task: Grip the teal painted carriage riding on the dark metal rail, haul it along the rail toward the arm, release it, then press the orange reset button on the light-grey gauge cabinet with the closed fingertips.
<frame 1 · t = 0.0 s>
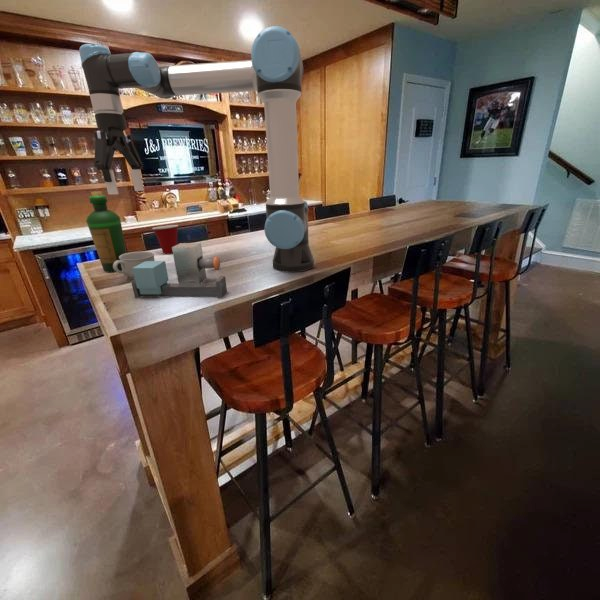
hand: (127, 192, 99), 28 cm above the table, fingers open, 13 cm apart
button: (209, 263, 102), point 6 cm above the table, slide at 0.0 cm
rail: (181, 294, 94), on the table
cabinet: (194, 281, 105), on the table
bottle: (117, 270, 121), on the table
plastic cup: (170, 253, 143), on the table
teacup: (137, 278, 110), on the table
carriage: (152, 277, 93), point 5 cm above the table, slide at 0.0 cm
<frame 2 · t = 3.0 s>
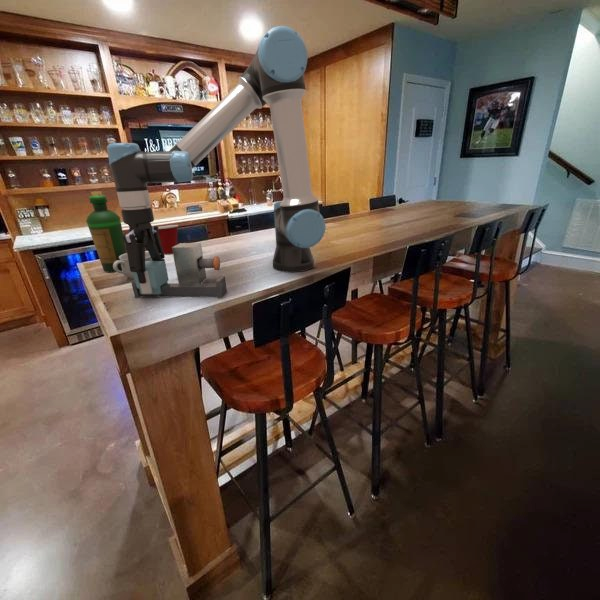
hand: (154, 288, 94), 2 cm above the table, fingers closed on carriage, 7 cm apart
carriage: (152, 277, 93), point 5 cm above the table, slide at 0.0 cm, touching gripper
everything else where it was.
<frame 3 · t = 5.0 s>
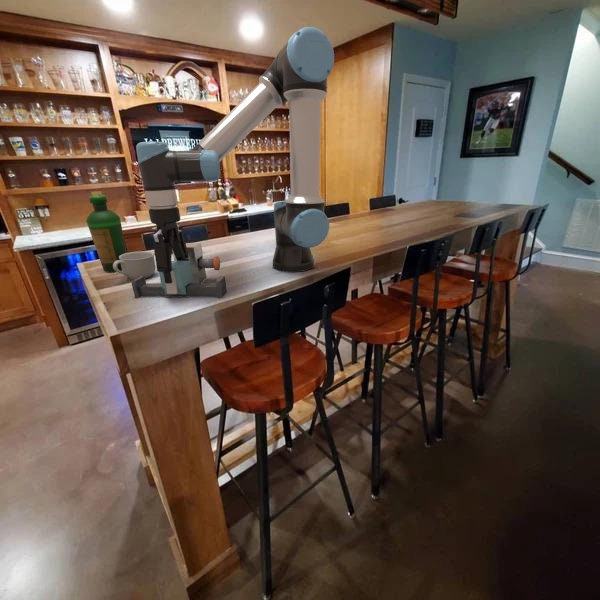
hand: (178, 288, 93), 2 cm above the table, fingers closed on carriage, 7 cm apart
carriage: (176, 277, 92), point 5 cm above the table, slide at 7.5 cm, touching gripper
everything else where it was.
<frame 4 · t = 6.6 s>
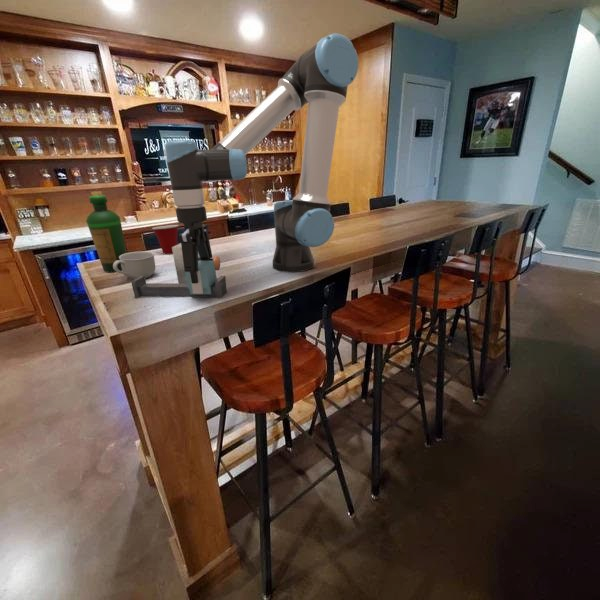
hand: (203, 288, 92), 2 cm above the table, fingers closed on carriage, 7 cm apart
carriage: (201, 277, 91), point 5 cm above the table, slide at 15.0 cm, touching gripper
everything else where it was.
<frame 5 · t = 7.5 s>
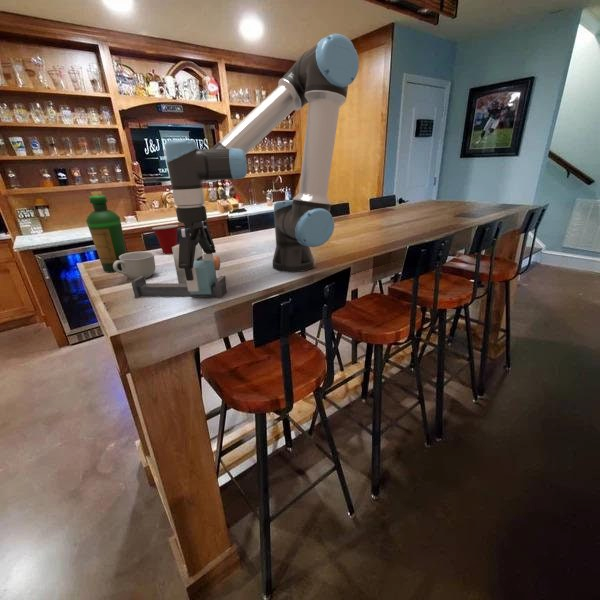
hand: (203, 282, 92), 4 cm above the table, fingers open, 13 cm apart
carriage: (201, 277, 91), point 5 cm above the table, slide at 15.0 cm
everything else where it was.
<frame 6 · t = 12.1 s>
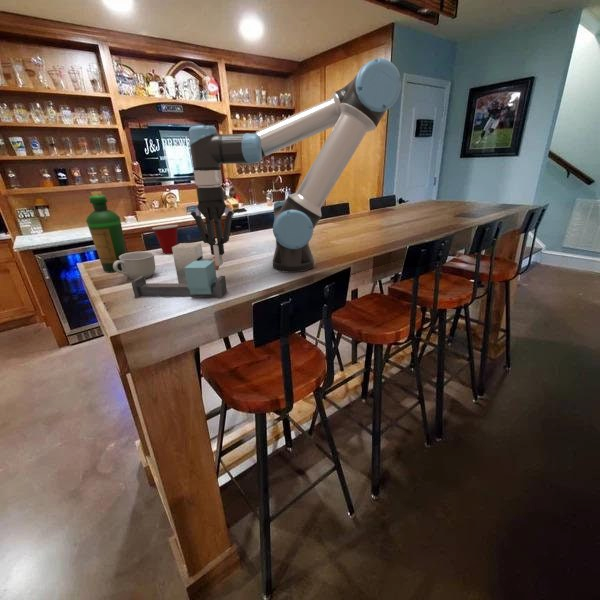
hand: (219, 264, 102), 6 cm above the table, fingers closed
button: (208, 263, 102), point 6 cm above the table, slide at 0.3 cm, touching gripper
everything else where it was.
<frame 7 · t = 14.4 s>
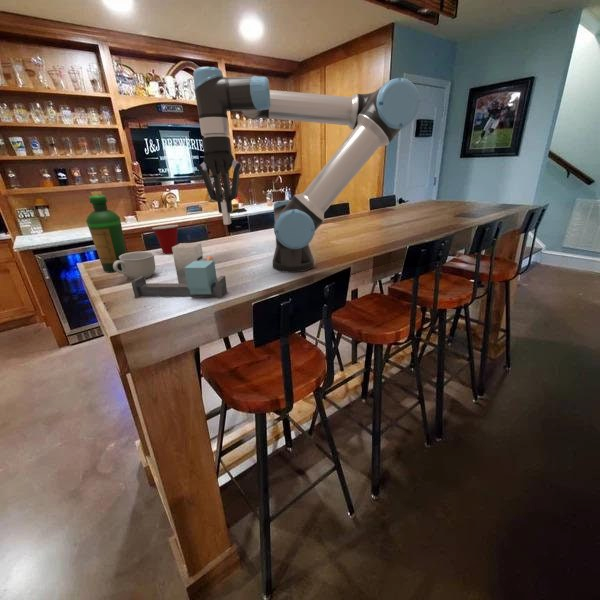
hand: (227, 223, 97), 18 cm above the table, fingers closed
button: (202, 263, 102), point 6 cm above the table, slide at 2.2 cm
everything else where it was.
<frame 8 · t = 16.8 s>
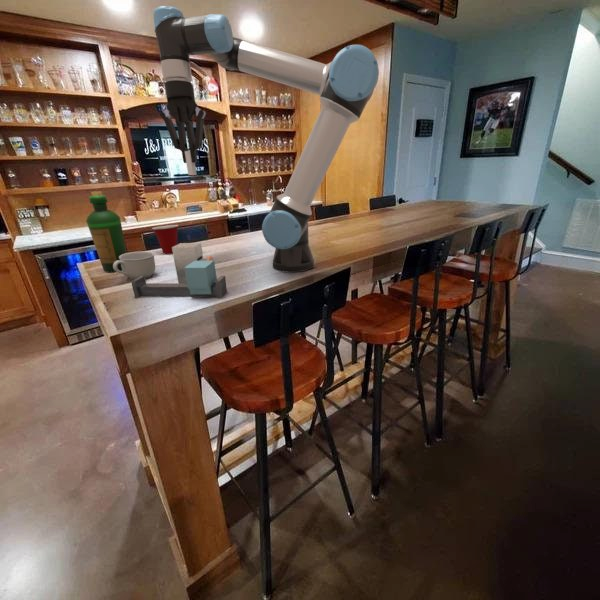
hand: (192, 174, 96), 32 cm above the table, fingers closed
nothing on the table moved.
at the end: carriage slide at 15.0 cm; button slide at 2.2 cm; the gripper is holding nothing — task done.
